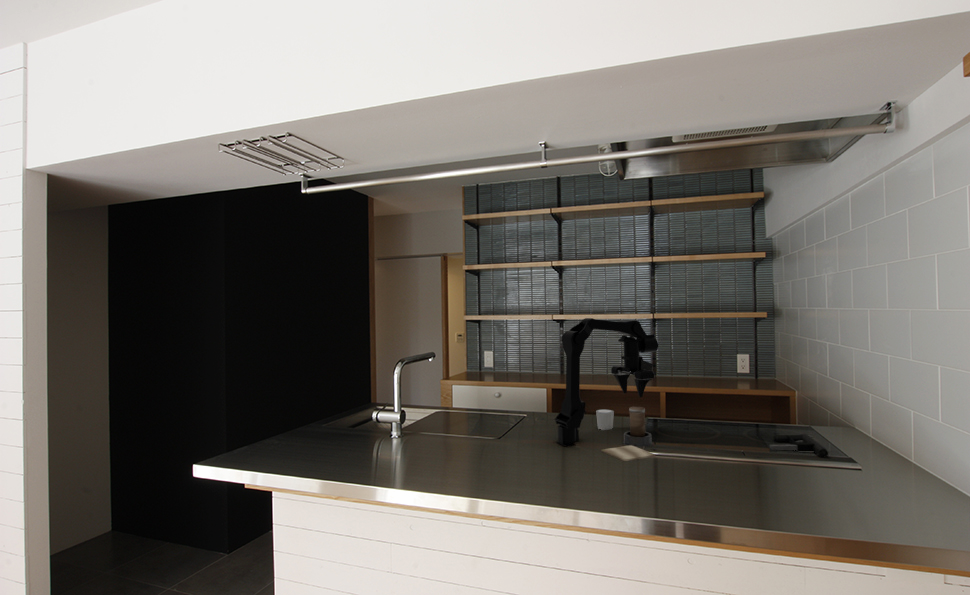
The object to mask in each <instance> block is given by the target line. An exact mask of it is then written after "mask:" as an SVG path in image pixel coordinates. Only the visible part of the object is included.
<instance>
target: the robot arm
mask: <svg viewBox="0 0 970 595" xmlns="http://www.w3.org/2000/svg"><path fill="white" fill-rule="evenodd" d="M593 330H599V331H600V330H601V331H609V332H610V331H612V332H614V333H618V334H621V337H620V338H619V339H618V340H617V341H618V342H619V343H623V355H622V356H620V357H621V359H622V360H623V365H613V366H612V367H610V368H611V369H610V370H611V371H610V372H611V374H613V377H615V379H616V381H617V383H618V385H619V387H620V389H621V391H622V392H623V394H627V392H628V379H629V377H630V376H634V377H635V378H634V382H635V387H636V390H637V395H638V398H643V395H644V392H645V390H646V386H647V384H648V383H649V382H650V381H652V380H653V379H655V372H654V371H653V366H654V363H651V362H650V361H646V360H644V358H643V356H641V355H640V353H642V354H643V353H655V352H657V351H658V348H659V342H658V340H657V339H656V337H655V334H653V333H650V334H647V333H646V331H645V330H644V329H643V327H642V325H641V322H640V321H639V320H632V319H630V320H629V319H622V320H617V321H613V320H607V319H606V320H604V319H595V318H594V317H593V318H591V317H585V318H583V319H582V320H581V321H580V322H579V323H577V324H576V325H574V326H573V327H571V328H570V329H569V330H566V331H565V332H564V333H563V334H562V336H561V343H562V348H563V351H564V353H565V357H566V360H565V362H566V363H565V364H566V366H565V396H564V399H563V400H562V402H561V407H560V411H559V413H558V414H557V416H555V418H554V421H555V424H556V425H557V433H558V434H557V436H558V437H557V440H556V441H555V442H556V443H557V444H559V445H562V446H564V447H570V446H576V445H577V444H576V442H579V441H580V431H579V428H581V423H582V420H583V419H584V417H585V415H586V414H587V412H586V401H583V400H582V399H581V397H580V390H581V388H580V385H581V384H580V381H581V380H580V379H581V374H580V372H581V370H580V369H581V355H582V353H583V351H584V349H585V343H586V341H587V340H588V339H589V338H590V336H591V334H592V332H593Z"/></svg>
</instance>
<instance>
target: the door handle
mask: <svg viewBox="0 0 970 595" xmlns="http://www.w3.org/2000/svg"><path fill="white" fill-rule="evenodd" d="M772 440H773V441H774V443H788V444H769V450H770V449H771V450H770V451H776V450H794V451H793V452H798V451H814V452H815V453H814V454H816V453H817V454H816V455H818V456H819V455H820V456H819V457H821V456H826V457H827V456H828V454H829V451H828V449H827V448H825V447H824V446H823V445H822V444H820V443H819V442H817V440H815V439H814V438H813V436H812V437H811V436H810V435H809V434H807V433H801V434H776V435H773V437H772ZM795 450H796V451H795Z"/></svg>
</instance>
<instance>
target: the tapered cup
mask: <svg viewBox="0 0 970 595" xmlns="http://www.w3.org/2000/svg"><path fill="white" fill-rule="evenodd" d="M628 408H629V409H628V412H629V431H630V436H634V437H645V432H646V418H645V417H646V415H645V414H646V408H645V407H643V406H630V407H628Z"/></svg>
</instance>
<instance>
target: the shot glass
mask: <svg viewBox="0 0 970 595" xmlns="http://www.w3.org/2000/svg"><path fill="white" fill-rule="evenodd" d="M595 412H596V413H595V414H596V421H597V424H596V425H597V429H598V430H599V429H601V430H600V431H608V430H613V429H612V428H614V417H615V416H614V415H615V413H614V412H615V411H614V410H611V409H605V408H604V409H597V410H596V411H595Z"/></svg>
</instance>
